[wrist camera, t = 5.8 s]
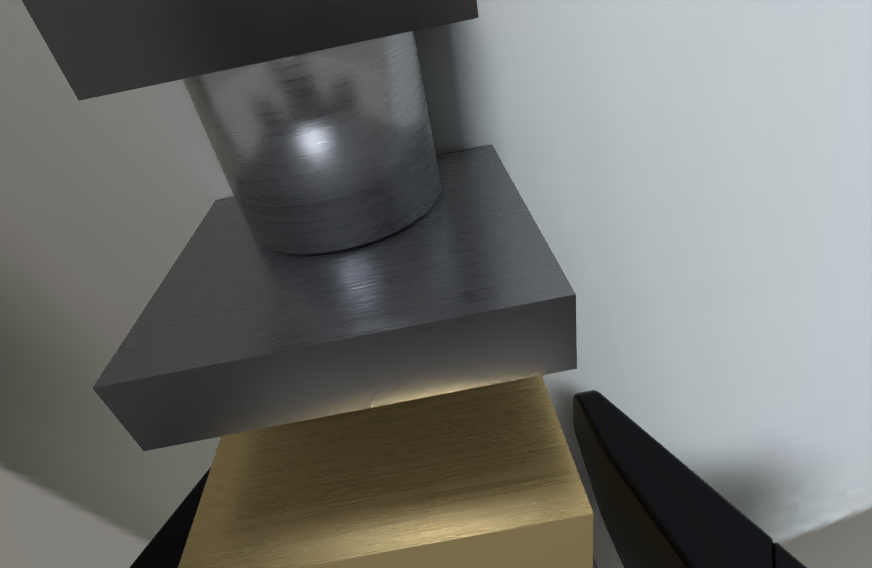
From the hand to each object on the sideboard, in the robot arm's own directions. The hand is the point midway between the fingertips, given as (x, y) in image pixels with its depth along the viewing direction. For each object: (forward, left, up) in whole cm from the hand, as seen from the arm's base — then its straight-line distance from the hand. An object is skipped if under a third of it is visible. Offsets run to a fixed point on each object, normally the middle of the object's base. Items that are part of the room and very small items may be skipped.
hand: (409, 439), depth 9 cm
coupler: (0, 0, -2) cm, 2 cm away
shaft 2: (-6, 0, -2) cm, 6 cm away
